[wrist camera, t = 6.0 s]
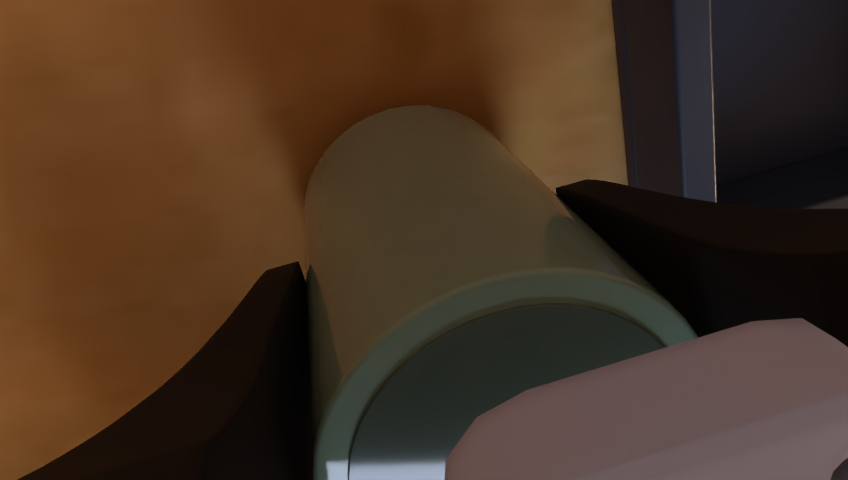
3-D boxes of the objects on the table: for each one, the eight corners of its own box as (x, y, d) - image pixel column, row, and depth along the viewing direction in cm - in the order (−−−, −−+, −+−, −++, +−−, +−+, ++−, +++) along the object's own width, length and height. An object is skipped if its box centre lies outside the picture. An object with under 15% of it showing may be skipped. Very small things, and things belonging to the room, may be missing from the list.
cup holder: (890, 360, 21) (968, 414, 18) (651, 435, 20) (699, 501, 18) (952, -205, 14) (1087, -236, 12) (599, -115, 14) (665, -129, 11)
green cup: (534, 275, 16) (724, 538, 9) (339, 332, 16) (375, 652, 9) (499, 78, 14) (715, 215, 7) (273, 139, 14) (249, 352, 7)
